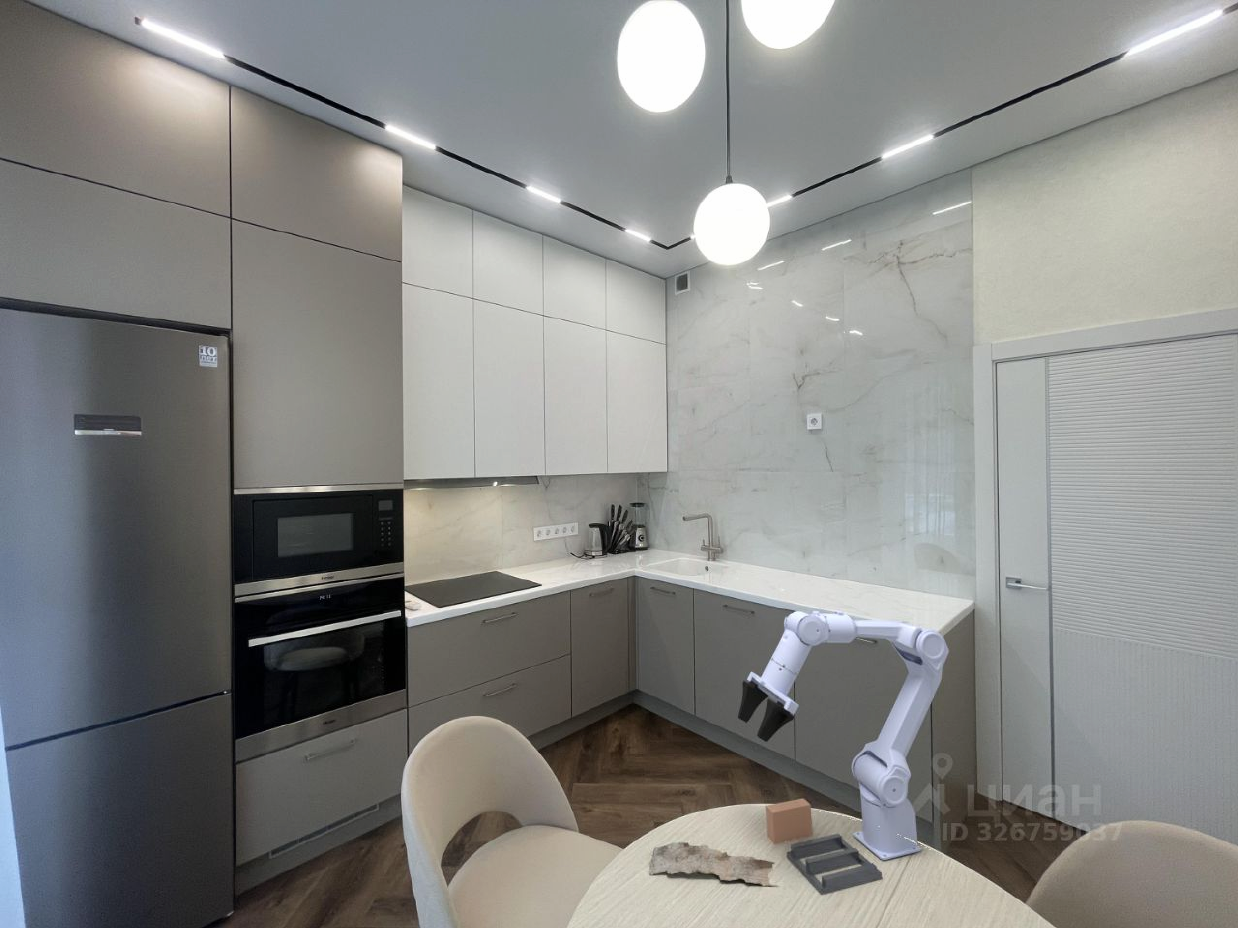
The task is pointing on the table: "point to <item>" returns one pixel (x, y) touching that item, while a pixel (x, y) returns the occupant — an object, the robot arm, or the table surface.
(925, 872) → the table surface
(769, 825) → the terracotta strip
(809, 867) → the drying rack
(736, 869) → the stone fragment
